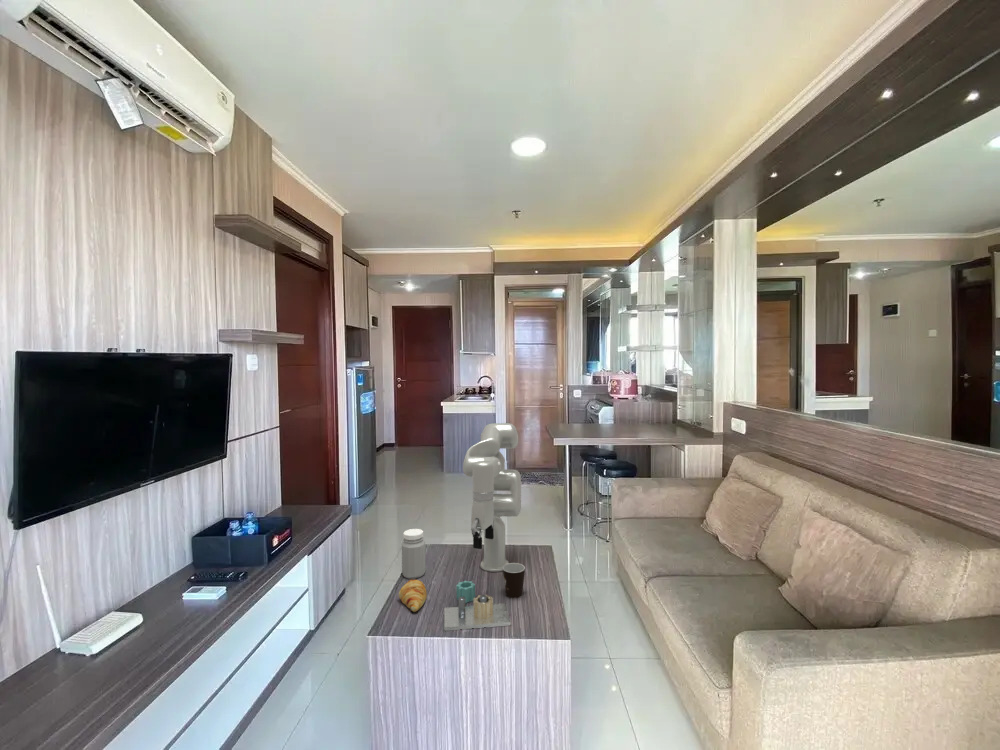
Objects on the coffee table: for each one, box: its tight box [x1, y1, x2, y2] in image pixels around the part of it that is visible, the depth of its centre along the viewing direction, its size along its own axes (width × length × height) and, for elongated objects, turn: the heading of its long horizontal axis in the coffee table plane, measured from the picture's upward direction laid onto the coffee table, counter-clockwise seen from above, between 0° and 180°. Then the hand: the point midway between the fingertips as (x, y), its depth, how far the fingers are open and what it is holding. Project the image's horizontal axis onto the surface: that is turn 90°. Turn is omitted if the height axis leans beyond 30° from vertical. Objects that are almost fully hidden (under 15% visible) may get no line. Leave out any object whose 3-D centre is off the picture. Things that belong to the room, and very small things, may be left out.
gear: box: [456, 580, 476, 604], centre depth 161 cm, size 7×7×5 cm
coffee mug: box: [502, 562, 526, 599], centre depth 165 cm, size 12×9×10 cm
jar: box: [401, 528, 426, 580], centre depth 181 cm, size 10×10×18 cm
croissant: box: [398, 578, 428, 613], centre depth 160 cm, size 21×10×8 cm, turn 17°
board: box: [443, 594, 511, 632], centre depth 147 cm, size 12×22×7 cm, turn 97°
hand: (483, 543), depth 153 cm, fingers open, 9 cm apart
